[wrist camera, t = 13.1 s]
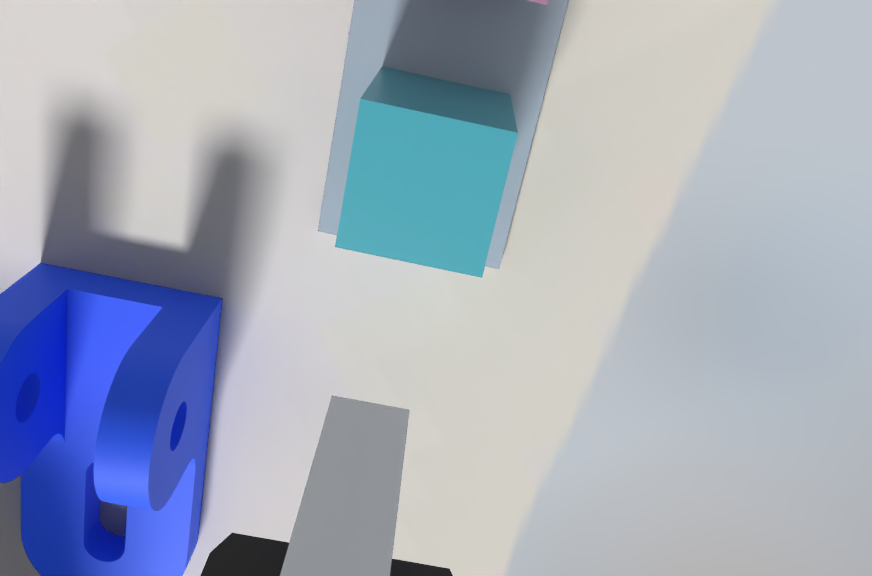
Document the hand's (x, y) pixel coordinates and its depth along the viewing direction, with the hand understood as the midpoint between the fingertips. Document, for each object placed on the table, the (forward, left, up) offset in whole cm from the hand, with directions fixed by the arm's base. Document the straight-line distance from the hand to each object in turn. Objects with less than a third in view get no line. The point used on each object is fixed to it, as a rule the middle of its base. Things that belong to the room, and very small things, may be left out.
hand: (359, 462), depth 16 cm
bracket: (-12, -17, -21) cm, 29 cm away
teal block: (0, +2, -20) cm, 20 cm away
